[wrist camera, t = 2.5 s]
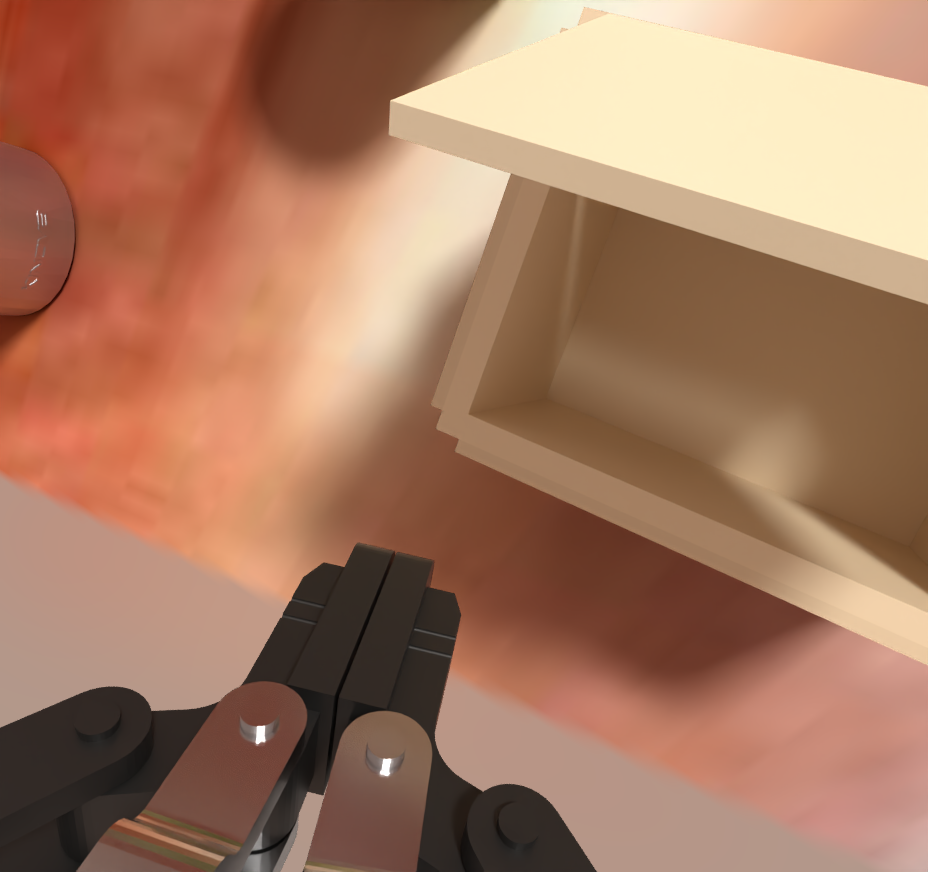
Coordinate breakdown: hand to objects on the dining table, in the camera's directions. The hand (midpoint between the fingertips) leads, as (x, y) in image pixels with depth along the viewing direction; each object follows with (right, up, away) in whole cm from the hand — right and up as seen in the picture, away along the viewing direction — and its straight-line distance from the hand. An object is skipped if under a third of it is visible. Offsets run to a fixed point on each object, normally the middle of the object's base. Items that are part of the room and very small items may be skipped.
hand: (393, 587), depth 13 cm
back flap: (+11, +11, +2) cm, 16 cm away
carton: (+13, +7, +13) cm, 20 cm away
